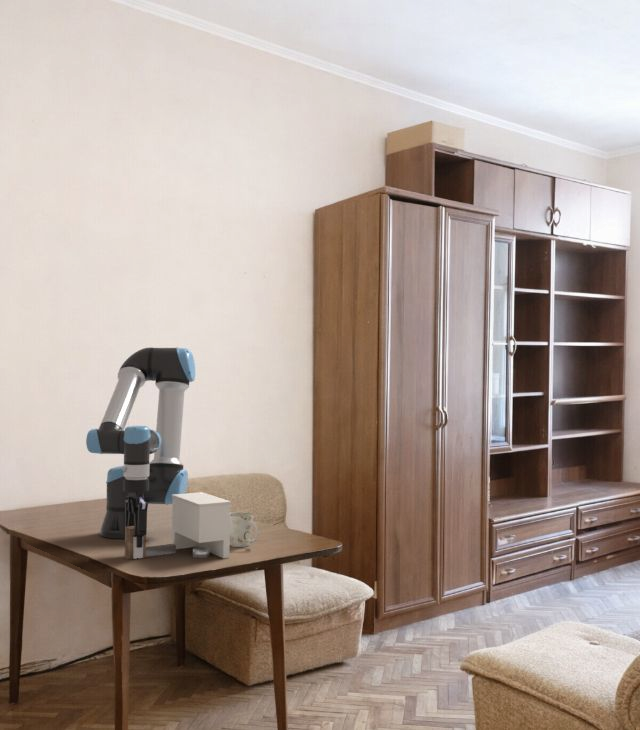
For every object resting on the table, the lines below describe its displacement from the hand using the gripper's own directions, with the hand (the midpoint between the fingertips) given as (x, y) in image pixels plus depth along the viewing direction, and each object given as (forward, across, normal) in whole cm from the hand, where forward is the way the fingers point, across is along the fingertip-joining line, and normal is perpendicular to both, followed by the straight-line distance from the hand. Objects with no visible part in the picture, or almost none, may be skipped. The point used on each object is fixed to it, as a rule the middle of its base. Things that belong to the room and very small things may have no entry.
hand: (134, 556), depth 234 cm
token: (0, +8, +18) cm, 20 cm away
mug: (0, +3, +35) cm, 35 cm away
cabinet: (0, +4, +19) cm, 20 cm away
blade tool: (0, 0, +5) cm, 5 cm away
